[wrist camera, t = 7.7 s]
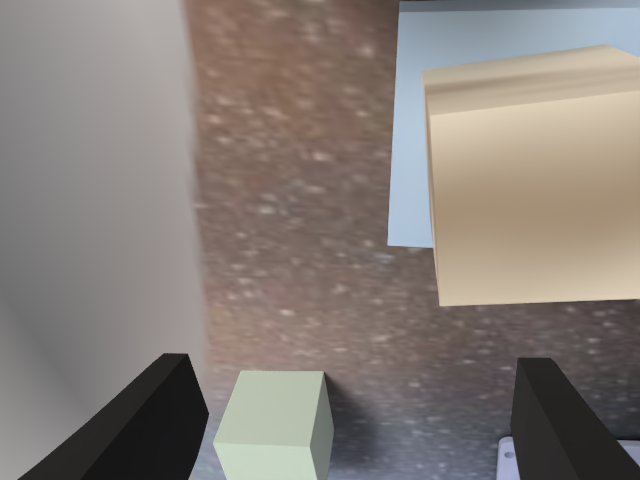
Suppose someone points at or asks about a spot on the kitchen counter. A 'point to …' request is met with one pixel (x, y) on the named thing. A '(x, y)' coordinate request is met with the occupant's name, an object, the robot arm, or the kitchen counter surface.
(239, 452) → the sage green block
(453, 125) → the birch block
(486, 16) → the blue base block
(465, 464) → the kitchen counter surface
